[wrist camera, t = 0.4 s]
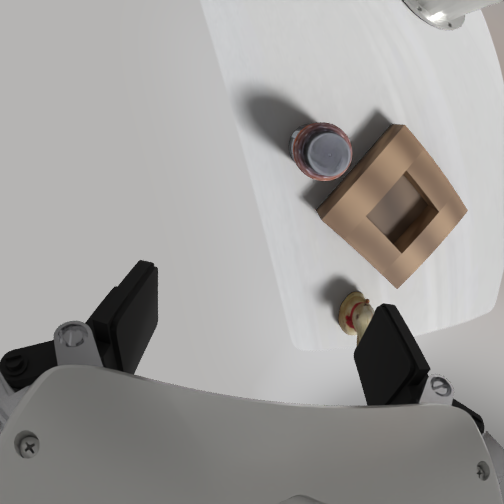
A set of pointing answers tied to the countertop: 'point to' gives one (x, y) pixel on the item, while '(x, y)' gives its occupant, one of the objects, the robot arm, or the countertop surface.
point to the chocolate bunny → (355, 315)
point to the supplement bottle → (321, 151)
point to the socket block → (394, 205)
